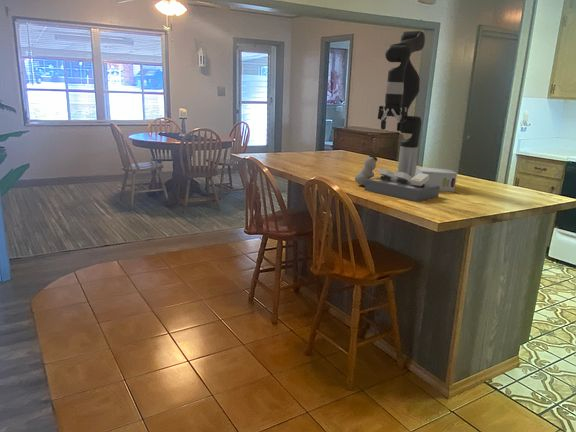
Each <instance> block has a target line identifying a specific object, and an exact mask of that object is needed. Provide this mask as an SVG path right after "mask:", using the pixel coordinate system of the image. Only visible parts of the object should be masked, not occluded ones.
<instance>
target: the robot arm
mask: <svg viewBox="0 0 576 432" xmlns="http://www.w3.org/2000/svg"><path fill="white" fill-rule="evenodd" d="M425 41H426V36H425V33H424V32H423V31H422V30H409V31H403V32H402V34H401V35H400V42H398V43H393V44H391V45H389V46H388V47H387V48H386V50H385V53H384V55H385V59H386V60H387V62H389V63H399V65H398V66H397V67H391V68H389V70H388V72H387V82H386V86H385V87H386V88H385V99H384V103H385V104H384V105H380V106H379V107H378V113H377V120H380V129H381V130H386V127H387V119H388V118H389V117H394V118H395V119H396V122H397V123H396V132H400V133H402V134H406V135H407V134H409V135H411V136H410V137H409V138H407V139H403V140H401V141H400V144H399V145H400V147H399V153H398V154H399V155H398V164H397V171H398V172H404V173H406V174H408V175H410V176H412V177H411V179H412V178H413V177H414V176H415V175H416V167H417V163H418V161H417V159H418V158H417V157H418V150H419V148H418V147H419V142H420V136H421V135H420V134H421V129H422V118H421V116H417V115H416V116H415V115H408V112H409V109H410V108H411V107H410V106H411V105H412V103H413V102H414V101H415V99H416V98H417V97H418V95H419V93H420V82H421V81H420V75H419V73H418V71H417V70H416V69H415V67H414V66H413V63H412V62H411V59H410V58H411V55H412V54H413V53H415V52H419V51H422V50H423V49H424V47H425V44H426V43H425Z"/></svg>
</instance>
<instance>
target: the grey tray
mask: <svg viewBox="0 0 576 432" xmlns="http://www.w3.org/2000/svg"><path fill="white" fill-rule="evenodd" d="M439 188H440V186H438V185H433V184H428V183H424V184H423V185H422V186H417V185H412V184H411V181H407V180H402V179H399V178H397V177H395V176H394V178H391V177H386V176H383V175H381V176H378V177H372V178H370V179H366V180H365V186H364V191H367V192H372V193H376V194H380V195H385V196H390V197H393V198H397V199H402V200H407V201H411V202H416V203H417V202H422V201H425V200H429V199H433V198H434V197H435V198H438V197H439V193H440V191H439Z"/></svg>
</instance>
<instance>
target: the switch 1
mask: <svg viewBox="0 0 576 432" xmlns="http://www.w3.org/2000/svg"><path fill="white" fill-rule="evenodd" d="M377 174H379V175H381V176H386V177H391V178H394V177H395V176H394V172H393V171H392V170H390V169H387V168H381V167H378V169H377Z"/></svg>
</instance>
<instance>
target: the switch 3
mask: <svg viewBox="0 0 576 432" xmlns="http://www.w3.org/2000/svg"><path fill="white" fill-rule="evenodd" d="M415 175H416V174H415ZM410 180H411V184H412V185H417V186H422V185H423V184H424V183H425V182H427V181H428V180H429V174H423V173H418V174H417V175H416V176H414V177H413V178H412V179H410Z"/></svg>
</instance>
